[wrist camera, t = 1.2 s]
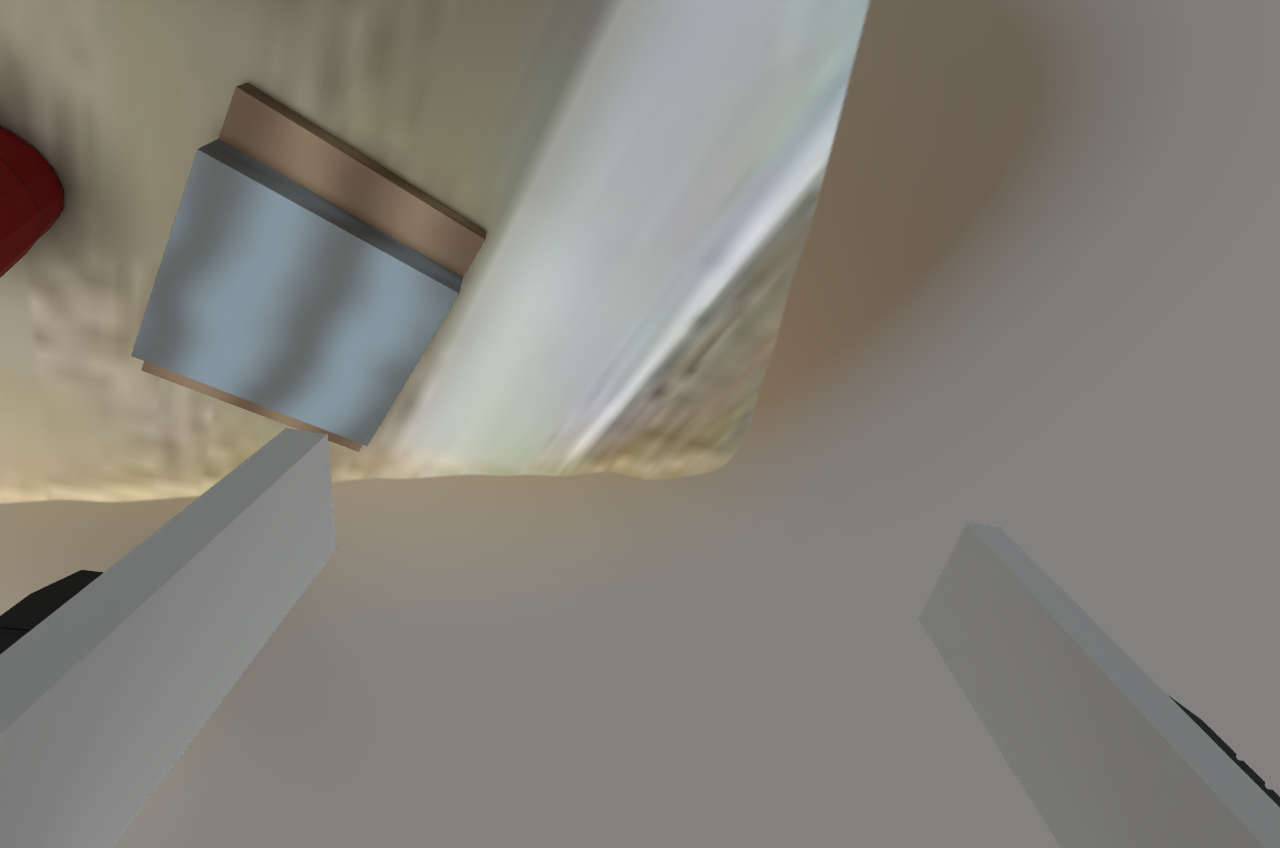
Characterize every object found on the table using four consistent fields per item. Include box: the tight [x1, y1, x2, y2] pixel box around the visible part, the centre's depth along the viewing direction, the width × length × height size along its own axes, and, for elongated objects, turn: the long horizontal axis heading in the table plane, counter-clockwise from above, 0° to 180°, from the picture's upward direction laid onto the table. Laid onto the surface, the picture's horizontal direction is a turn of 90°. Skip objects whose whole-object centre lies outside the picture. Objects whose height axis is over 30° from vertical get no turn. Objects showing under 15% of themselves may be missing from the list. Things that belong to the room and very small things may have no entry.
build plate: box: [131, 83, 486, 452], centre depth 36 cm, size 14×20×4 cm
